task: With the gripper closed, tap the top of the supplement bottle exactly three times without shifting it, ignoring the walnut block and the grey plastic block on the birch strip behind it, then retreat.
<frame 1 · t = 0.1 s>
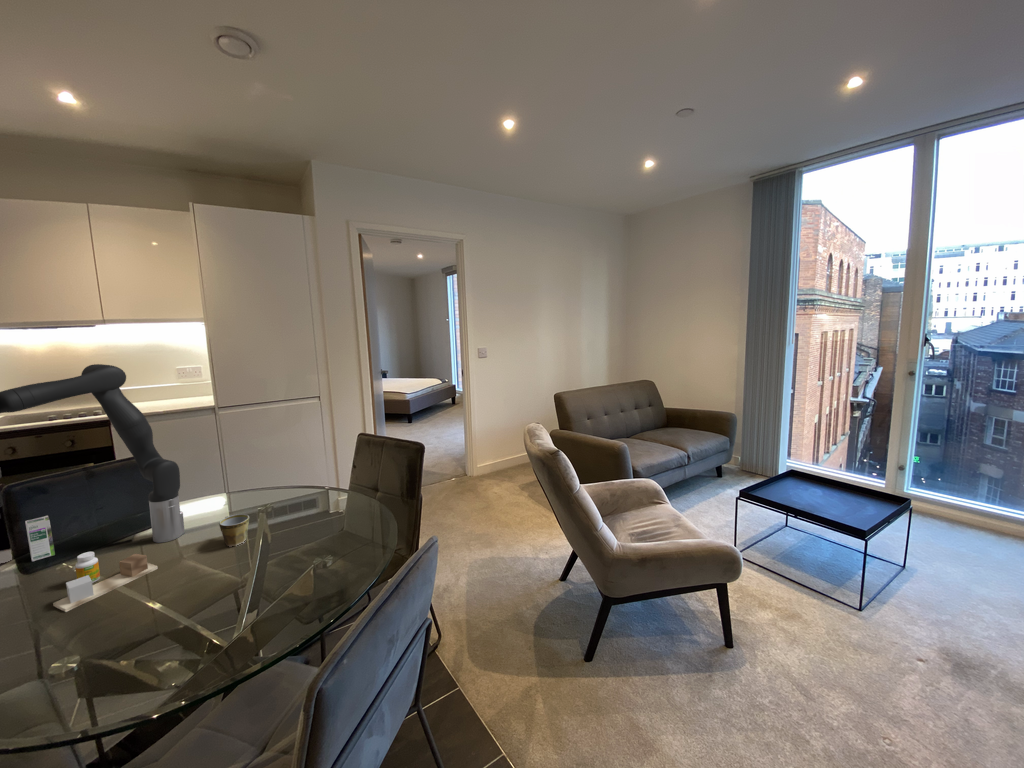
ceramic cup: (234, 542, 164), on the table
supplement bottle: (89, 581, 137), on the table
grey block: (80, 596, 128), point 1 cm above the table, touching birch strip
birch strip: (109, 586, 135), on the table
walnut block: (134, 571, 141), point 1 cm above the table, touching birch strip
syrup box: (43, 556, 151), on the table
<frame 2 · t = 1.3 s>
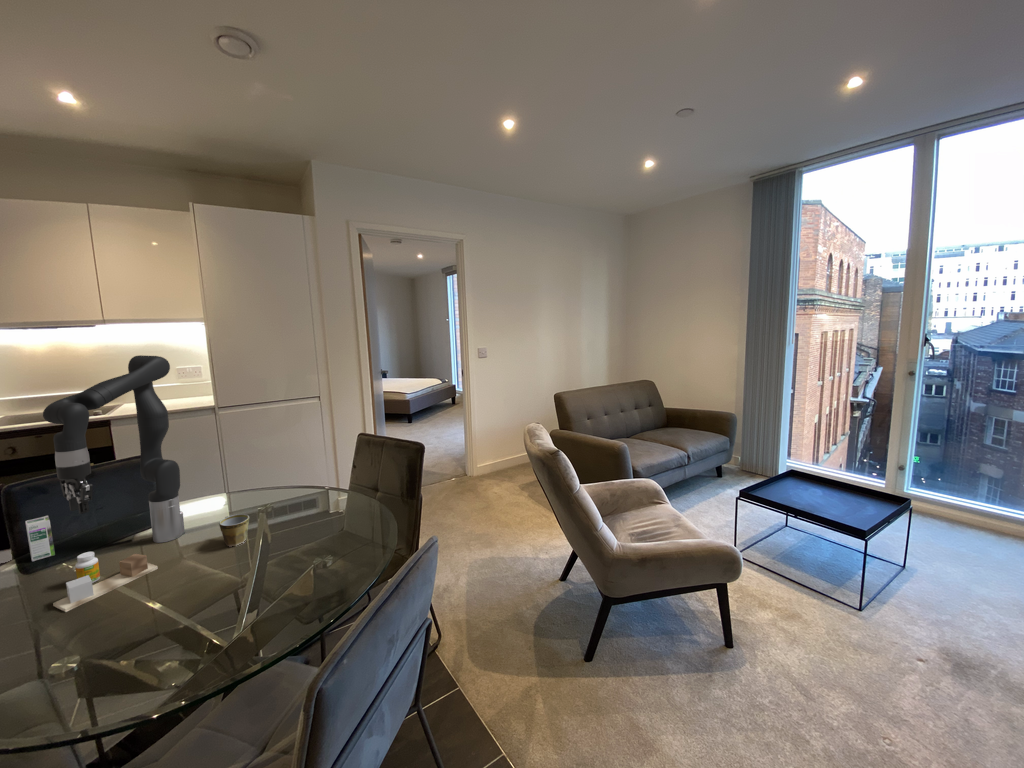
hand: (79, 511, 133), 25 cm above the table, fingers open, 5 cm apart
nothing on the table moved.
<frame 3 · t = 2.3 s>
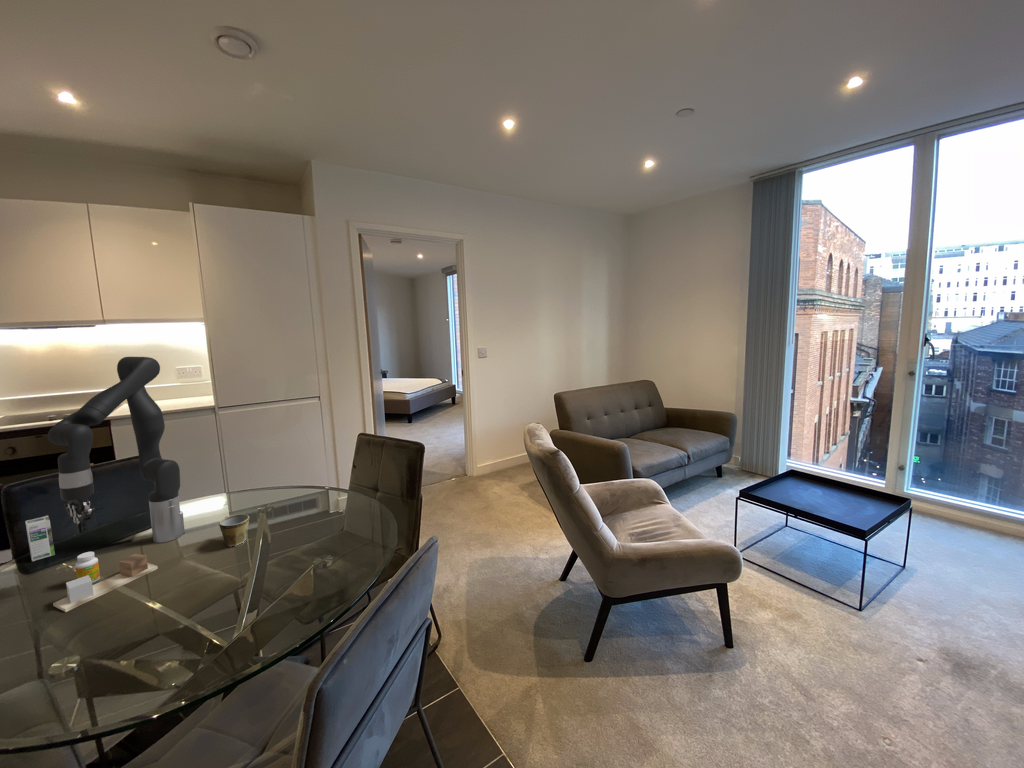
hand: (82, 532, 134), 18 cm above the table, fingers closed
nothing on the table moved.
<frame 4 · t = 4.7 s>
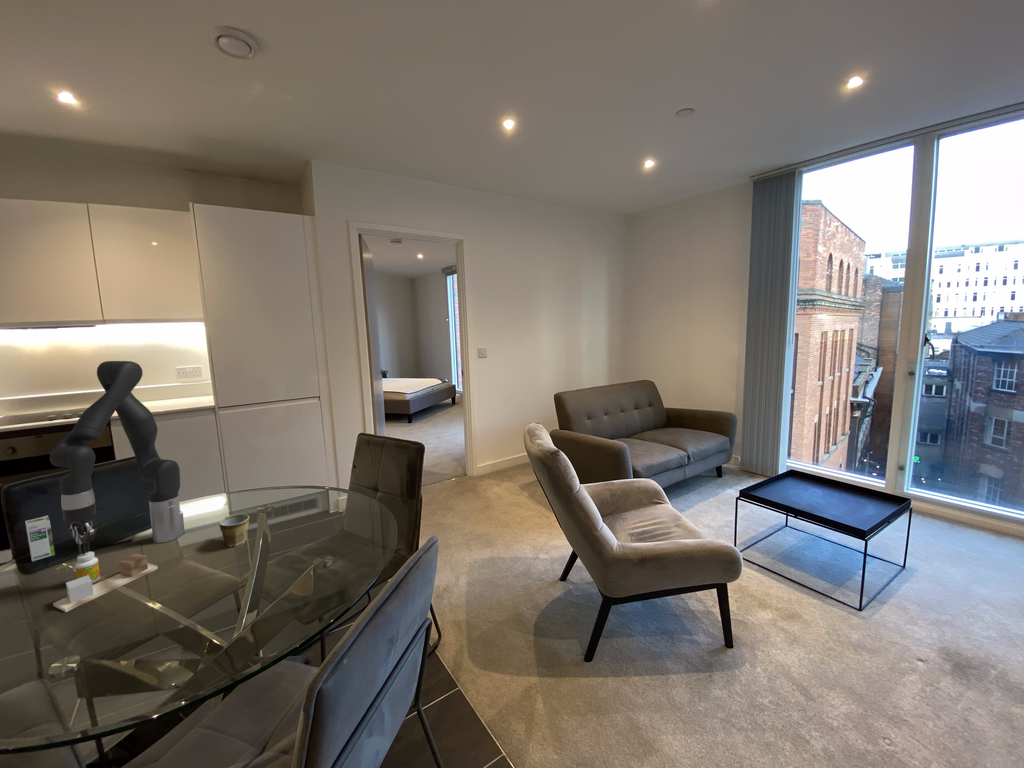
hand: (84, 552, 135), 11 cm above the table, fingers closed
nothing on the table moved.
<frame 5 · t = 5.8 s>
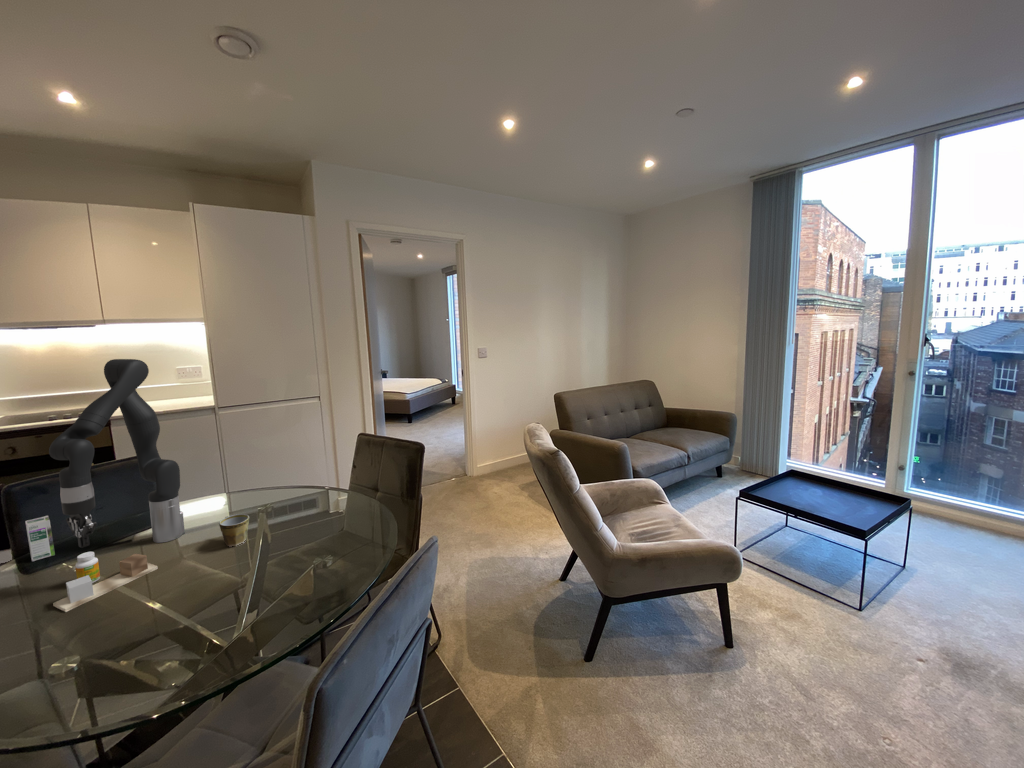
hand: (84, 546, 135), 13 cm above the table, fingers closed
nothing on the table moved.
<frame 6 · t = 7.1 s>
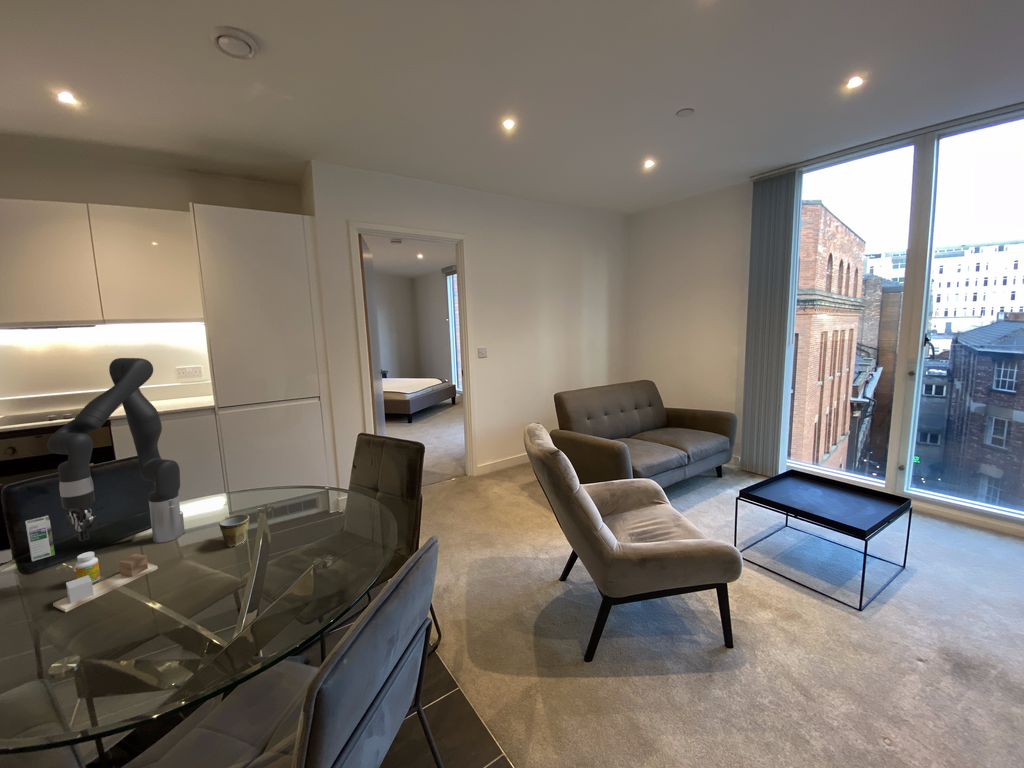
hand: (84, 539, 135), 15 cm above the table, fingers closed
nothing on the table moved.
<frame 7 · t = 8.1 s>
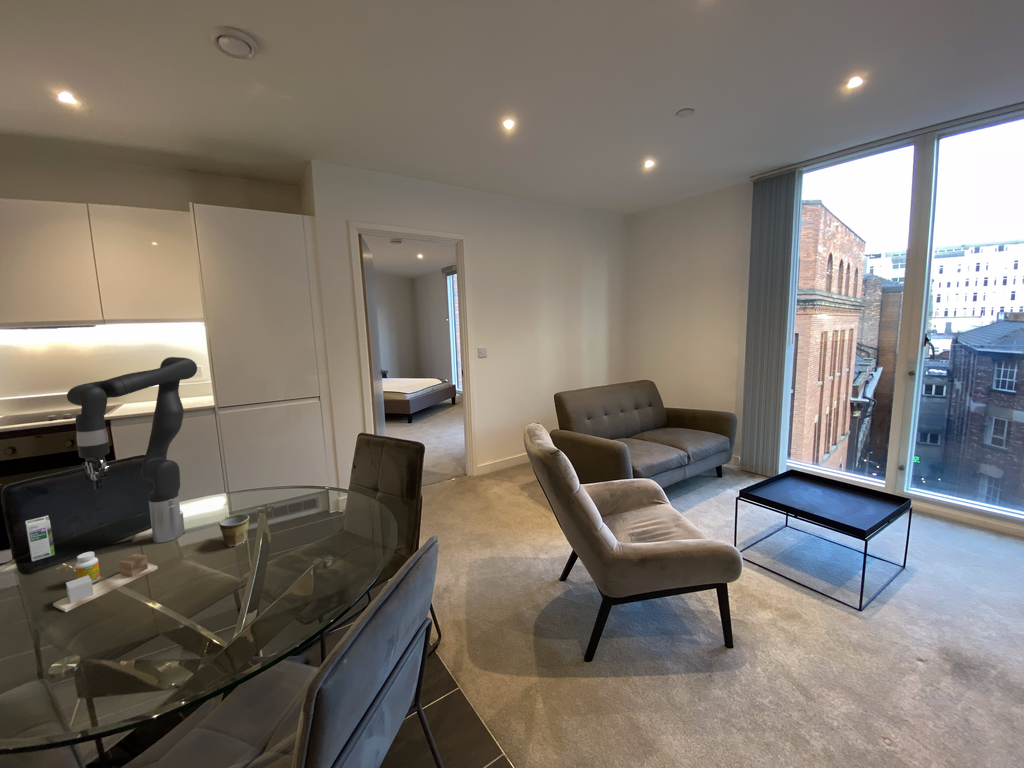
hand: (99, 489, 142), 29 cm above the table, fingers closed
nothing on the table moved.
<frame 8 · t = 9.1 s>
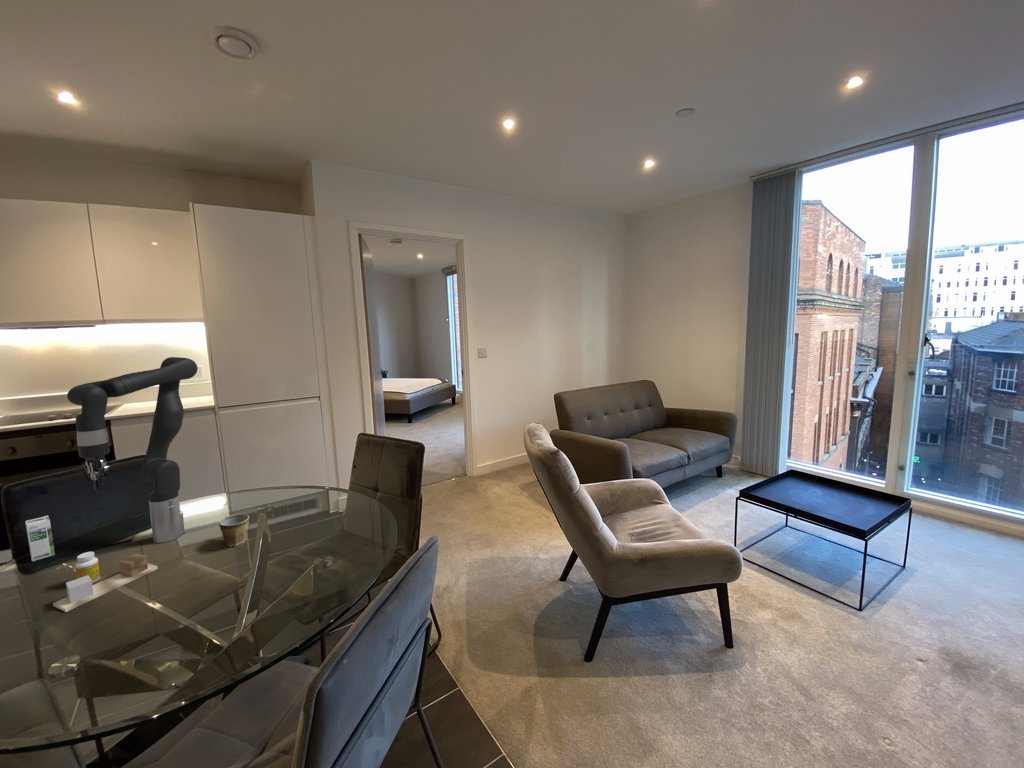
hand: (99, 489, 142), 29 cm above the table, fingers closed
nothing on the table moved.
at the end: supplement bottle moved 0.2 cm from its start; supplement bottle tilted 0°; grey block moved 0.0 cm from its start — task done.
